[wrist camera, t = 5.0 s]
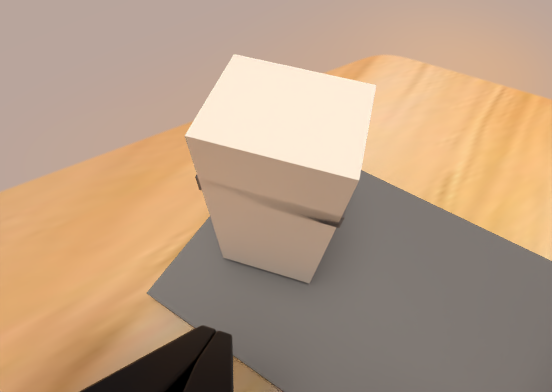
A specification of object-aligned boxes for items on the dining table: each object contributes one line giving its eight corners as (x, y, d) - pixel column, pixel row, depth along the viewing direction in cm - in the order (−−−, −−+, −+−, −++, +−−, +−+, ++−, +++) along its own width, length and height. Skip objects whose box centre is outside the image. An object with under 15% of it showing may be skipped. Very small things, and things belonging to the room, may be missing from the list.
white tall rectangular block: (311, 284, 17) (362, 181, 8) (221, 256, 17) (181, 134, 9) (325, 221, 19) (379, 86, 10) (245, 198, 19) (231, 53, 11)
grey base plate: (731, 712, 11) (1038, 929, 6) (152, 297, 17) (115, 270, 13) (689, 340, 17) (830, 326, 13) (279, 140, 24) (283, 87, 19)
